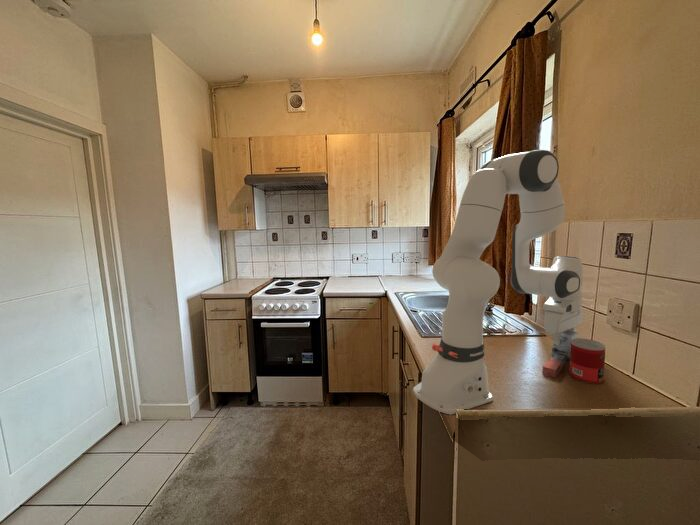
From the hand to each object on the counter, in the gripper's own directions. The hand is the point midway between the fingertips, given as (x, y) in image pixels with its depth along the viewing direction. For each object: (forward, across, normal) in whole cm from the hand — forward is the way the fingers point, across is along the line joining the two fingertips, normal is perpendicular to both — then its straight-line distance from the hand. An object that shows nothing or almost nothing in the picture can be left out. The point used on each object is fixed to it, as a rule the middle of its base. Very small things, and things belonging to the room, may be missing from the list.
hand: (563, 340), depth 100 cm
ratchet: (+6, +7, +1) cm, 9 cm away
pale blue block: (+3, 0, 0) cm, 3 cm away
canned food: (+6, +10, +10) cm, 16 cm away
